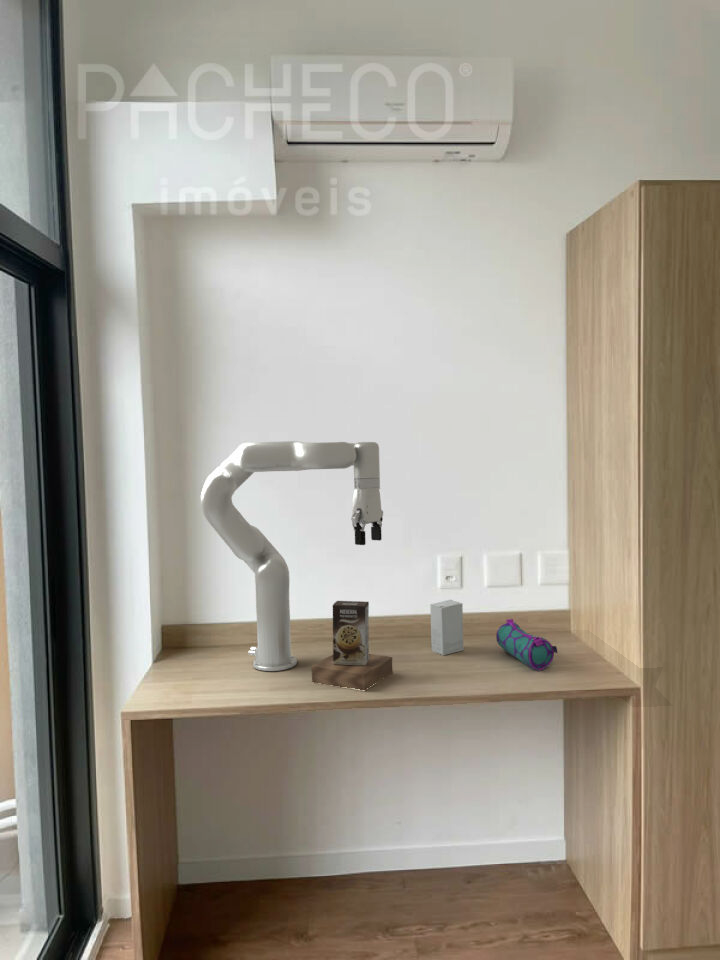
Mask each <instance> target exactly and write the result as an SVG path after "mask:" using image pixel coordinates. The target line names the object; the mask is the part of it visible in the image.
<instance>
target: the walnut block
mask: <svg viewBox="0 0 720 960" xmlns="http://www.w3.org/2000/svg"><path fill="white" fill-rule="evenodd" d="M392 674H393V657H392V656H386V655H380V654H373V653H369V660H368V662H367V664H366V665H365V666H363V665H340V664H333V654H332V655H330V656H328V657H326V658H324V659H323V660H321V661H319V662H317V663H314V664H313V665H311V683H312V682H314V683H313V684H318V683H321V684H320V685H323V684H326V685H325V686H329V685H333V686H332V687H335V686H340V687H339V688H341V687H347V688H355V689H360V690H366V689H367V688H369V687H370V686H372V685H373V684H375V683H377V682H378V683H380V682H381V681H383V680H384V679H386V678H388V677H389V676H390V675H392ZM388 675H389V676H388ZM385 677H386V678H385ZM383 678H384V679H383ZM382 679H383V680H382ZM380 680H381V681H380ZM379 681H380V682H379ZM378 683H377V684H378ZM375 685H376V684H375ZM372 687H373V686H372ZM369 689H370V688H369ZM366 691H367V690H366Z"/></svg>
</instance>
